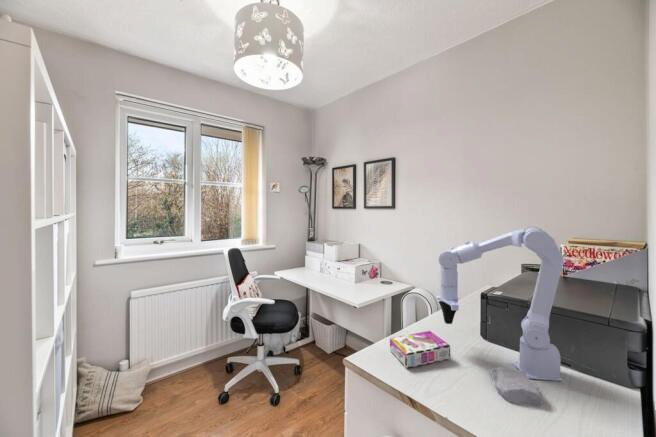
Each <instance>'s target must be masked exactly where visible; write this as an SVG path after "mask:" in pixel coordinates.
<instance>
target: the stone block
mask: <svg viewBox="0 0 656 437" xmlns="http://www.w3.org/2000/svg"><path fill="white" fill-rule="evenodd" d="M490 375H491V379H492V382H493V385H494V387H495V389H496V391H497V394H498V395H499V396H500V397H501V398H502V399H504V400H505V401H506V402H508V403H510V404H516V405H527V406H538V407H542V405H543V394H542V393H543V392H542V390H541V388H540V387H539V386H538V384H536V383H535V382H534V381H532V379H529V378H528V377H527V375H526V373H525V371H523V370H519V369H517V368H510V367H502V366H500V367H494V368H492V369H491V370H490Z"/></svg>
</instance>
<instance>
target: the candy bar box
mask: <svg viewBox="0 0 656 437" xmlns="http://www.w3.org/2000/svg"><path fill="white" fill-rule="evenodd" d="M389 350H390V352H391V353H392V354H393V355H394V356H395V358H396V359H397V360H398V361H399V362H400V364H402V365H403V367H404V368H405V369H410V368H414V367H419V366H423V365H428V364H432V363H436V362H441V361H448V360H451V344H449V343H447V342H446V341H444V340H443V339H442V338H440V337H439V336H438V335H436V334H435V333H433V332H432V331H430V330H428V331H421V332H417V333H416V332H415V333H412V334H406V335H400V336H396V337H390V338H389ZM447 359H448V360H447Z"/></svg>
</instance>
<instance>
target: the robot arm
mask: <svg viewBox="0 0 656 437" xmlns="http://www.w3.org/2000/svg"><path fill="white" fill-rule="evenodd" d="M522 244H523V245H524V246H525V247H526V248H527V249H528V250H530V251H531V252H533V253H535V254H536V256H538V258H539V259H540V260H541V263H540V266H539V271H538V274H537V275H538V276H537V278H536V281H535V282H536V283H535V286H534V291H533V295H532V299H531V303H530V307H529V309H528V311H527V314H526V316H525V317H524V318H523V319H522V320H521V323H520V326H521V329H522V336H520V338H519V359H518V361H513V362H512V364H513V365H514V367H516V369H517V370H523V371H525V373H526V375H527V377H528V378H529V379H530V380H547V381H559V382H560V381H562V380H563V379H562V378H561V360H562V359H561V358H562V357H561V354H560V351H559V349H558V348H557V346H556V345H554V344H553V343H550V342H551V338H550V335H549V329H550V317H551V312H552V311H551V310H552V307H553V304H554V299H555V297H556V293H557V292H556V291H557V289H558V285H559V280H560V278H561V273H562V269H563V265H564V261H565V258H564V256H563V253H562V252H561V250H560V249H559V247H558V245H557V243H556V241H555V238H553V237H552V236H551V235H550V234H549V233H547V232H546V231H545V230H543V229H542V228H540V227H537V226H528V227H526V228H524V229H523V228H522V229H521V228H520V229H517V230H512V231H509V232H506V233H504V234H502V235H499V236H495V237H493V238H490V239H488V240H485V241H482V242H480V243H478V242H475V241H469V240H467V241H465V242H464V244H462V245H459V246H455V247H454V246H451V247H450V249H445V250H444V251H443V252H441V253H440V255H439V257H438V263H439V265H440V266H439V295H436V296H435V298H436V300H438V304H439V306H440V308H441V311H442V316H443V317H442V318H443V321H444V323H445V324H446V325H452V324H453V321H454V319H455V318H454V317H455V314H456V313H457V311H459V308H460V306H459V304H458V303H459V297H458V295H459V294H458V292H459V291H458V290H459V286H458V285H459V284H458V282H459V281H458V279H459V278H458V274H459V273H458V264H460V265H462V264H466V263H469V262H471V261H475V260H479V259H481V258H482V256H483V254H484V253H487V252H490V251H493V250H494V251H495V250H497V249H498V250H499V249H502V248H504V247H508V246H512V247H513V246H514V247H518V248H522V247H523V246H522ZM562 382H563V381H562Z"/></svg>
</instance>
